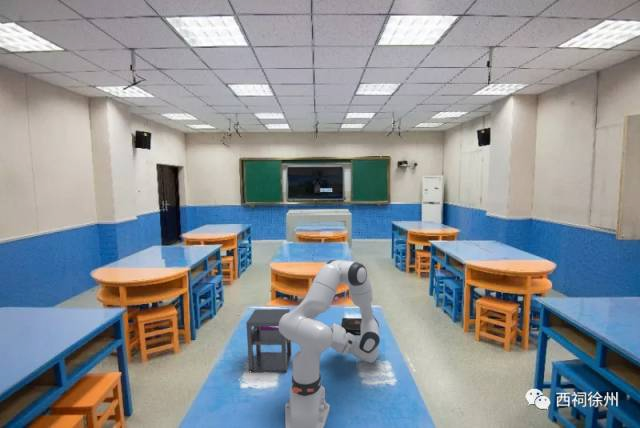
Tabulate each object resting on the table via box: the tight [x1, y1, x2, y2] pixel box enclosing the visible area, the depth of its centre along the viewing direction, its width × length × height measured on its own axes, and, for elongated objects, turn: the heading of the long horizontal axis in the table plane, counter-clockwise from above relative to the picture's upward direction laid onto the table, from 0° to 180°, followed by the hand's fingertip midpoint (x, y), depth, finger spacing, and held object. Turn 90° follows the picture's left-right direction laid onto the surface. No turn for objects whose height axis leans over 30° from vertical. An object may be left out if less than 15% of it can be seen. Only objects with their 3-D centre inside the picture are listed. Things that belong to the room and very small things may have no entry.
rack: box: [246, 308, 293, 374], centre depth 162 cm, size 16×20×26 cm
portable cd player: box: [341, 317, 362, 336], centre depth 199 cm, size 16×17×4 cm
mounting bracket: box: [260, 327, 279, 331], centre depth 191 cm, size 9×8×18 cm
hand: (323, 329), depth 159 cm, fingers closed on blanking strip, 4 cm apart
